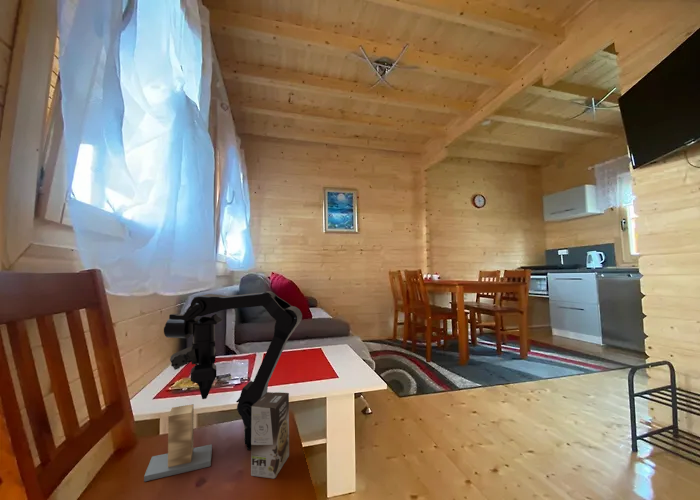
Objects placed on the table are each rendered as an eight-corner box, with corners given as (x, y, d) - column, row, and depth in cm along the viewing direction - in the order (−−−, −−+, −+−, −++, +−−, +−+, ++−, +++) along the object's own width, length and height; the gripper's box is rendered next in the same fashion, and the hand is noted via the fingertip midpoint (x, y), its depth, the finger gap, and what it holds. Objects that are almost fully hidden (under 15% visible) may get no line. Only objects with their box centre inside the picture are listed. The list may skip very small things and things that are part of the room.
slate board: (212, 448, 84) (212, 444, 84) (210, 466, 77) (210, 461, 77) (151, 461, 79) (152, 456, 79) (144, 481, 72) (144, 476, 72)
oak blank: (193, 451, 81) (193, 404, 82) (191, 462, 77) (191, 412, 77) (171, 455, 79) (171, 407, 80) (167, 467, 75) (168, 416, 75)
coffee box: (275, 479, 72) (275, 407, 72) (250, 476, 73) (250, 406, 74) (290, 455, 81) (289, 392, 81) (267, 453, 82) (266, 390, 83)
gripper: (175, 332, 95) (176, 382, 96) (168, 353, 78) (168, 414, 79) (215, 328, 99) (215, 376, 100) (216, 347, 82) (216, 404, 83)
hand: (204, 391), depth 90 cm, fingers open, 9 cm apart
